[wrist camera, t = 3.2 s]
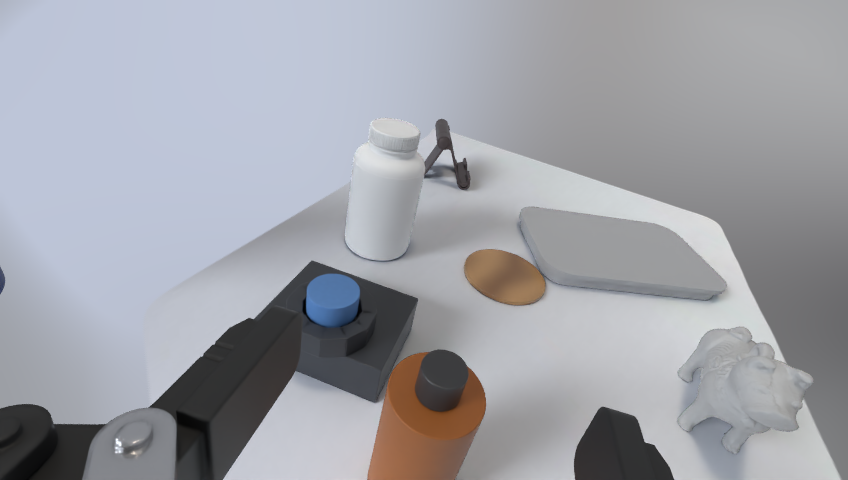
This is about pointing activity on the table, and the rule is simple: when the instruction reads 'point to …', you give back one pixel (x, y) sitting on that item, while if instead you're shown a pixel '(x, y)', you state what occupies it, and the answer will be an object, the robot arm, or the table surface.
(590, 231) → the tablet
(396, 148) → the pill bottle
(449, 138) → the tablet stand
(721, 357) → the grey animal figurine
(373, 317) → the dark grey button base
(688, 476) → the table surface
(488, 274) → the coaster
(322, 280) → the blue push button
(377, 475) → the bottle
